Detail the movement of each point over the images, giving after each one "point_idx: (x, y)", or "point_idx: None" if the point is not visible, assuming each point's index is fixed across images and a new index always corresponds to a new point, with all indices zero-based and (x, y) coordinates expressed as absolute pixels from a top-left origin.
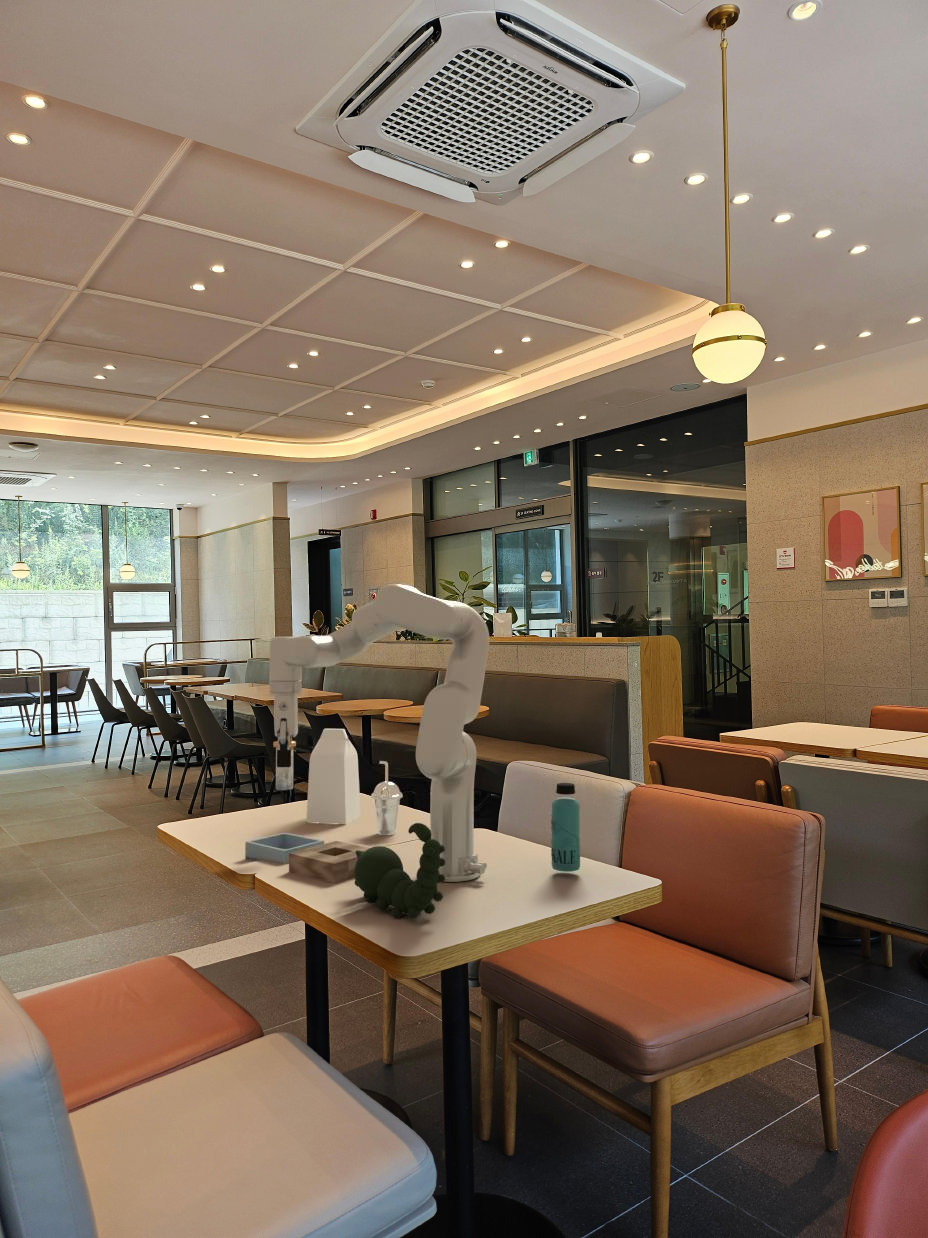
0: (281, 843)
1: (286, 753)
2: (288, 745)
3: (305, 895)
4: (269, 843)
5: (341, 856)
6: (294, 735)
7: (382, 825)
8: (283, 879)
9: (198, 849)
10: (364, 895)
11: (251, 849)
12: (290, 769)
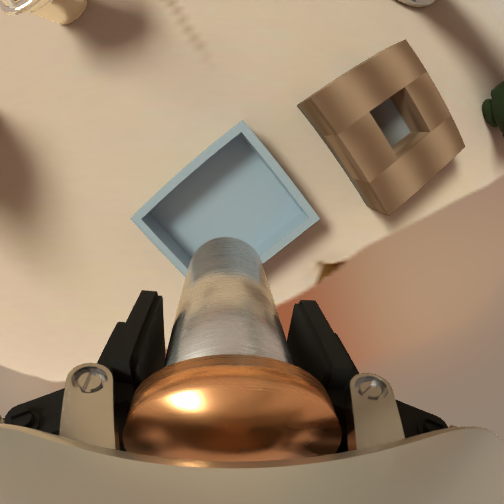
0: (153, 220)
1: (355, 374)
2: (392, 406)
3: (449, 189)
4: (175, 249)
5: (433, 120)
6: (482, 429)
7: (74, 6)
8: (372, 215)
9: None
10: (496, 126)
11: None
12: (265, 289)
